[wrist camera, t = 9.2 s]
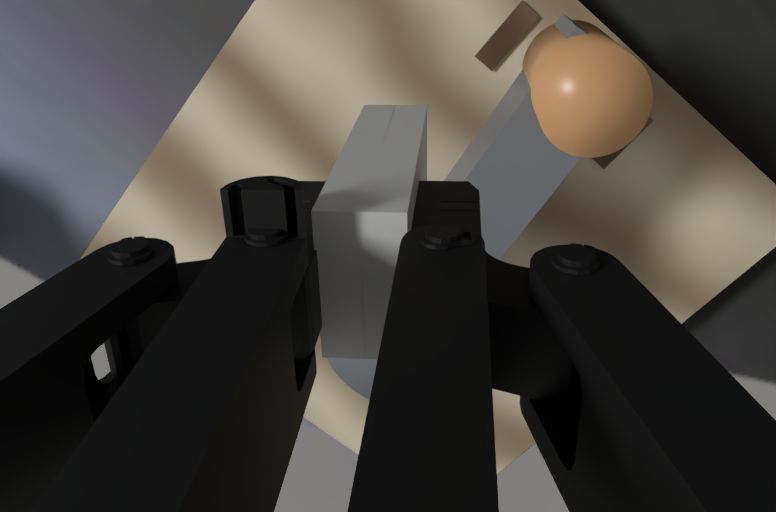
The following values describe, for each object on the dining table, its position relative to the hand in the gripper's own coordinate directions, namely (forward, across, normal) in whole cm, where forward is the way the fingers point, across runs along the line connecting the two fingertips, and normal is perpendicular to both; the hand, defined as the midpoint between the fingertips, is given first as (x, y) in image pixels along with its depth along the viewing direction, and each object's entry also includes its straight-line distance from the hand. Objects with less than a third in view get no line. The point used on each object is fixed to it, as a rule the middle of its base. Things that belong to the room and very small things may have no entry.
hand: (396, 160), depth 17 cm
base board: (+18, 0, -10) cm, 20 cm away
